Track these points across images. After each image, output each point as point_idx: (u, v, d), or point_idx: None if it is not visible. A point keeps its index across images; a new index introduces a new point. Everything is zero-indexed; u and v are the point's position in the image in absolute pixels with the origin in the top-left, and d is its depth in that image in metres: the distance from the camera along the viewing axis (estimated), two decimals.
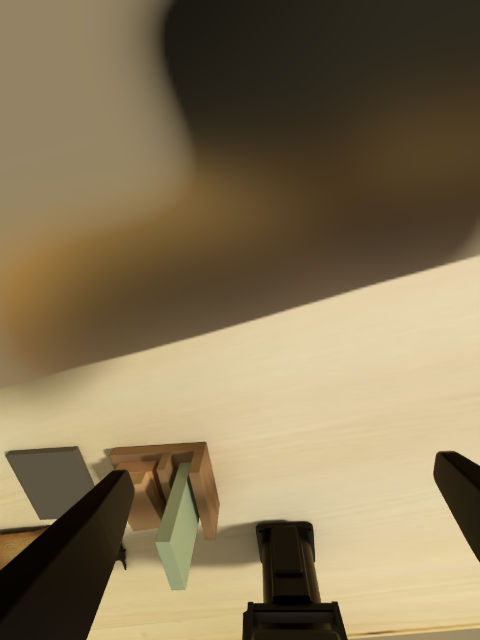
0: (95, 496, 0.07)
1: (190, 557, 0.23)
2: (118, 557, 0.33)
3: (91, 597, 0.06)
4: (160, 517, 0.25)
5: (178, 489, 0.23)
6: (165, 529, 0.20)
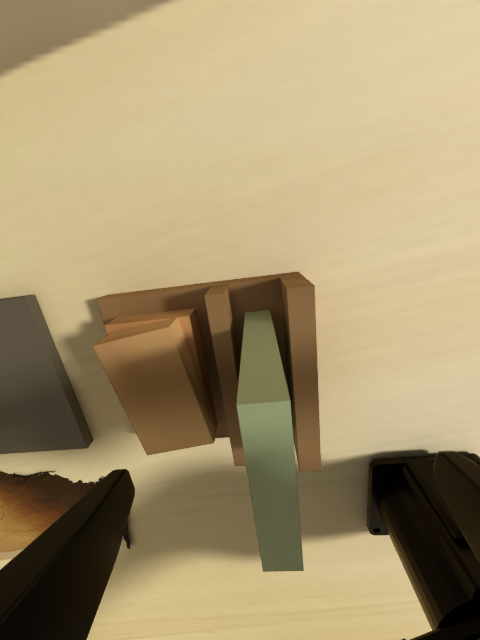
0: (95, 496, 0.07)
1: None
2: None
3: (91, 597, 0.06)
4: (206, 421, 0.12)
5: (260, 333, 0.10)
6: (258, 381, 0.06)
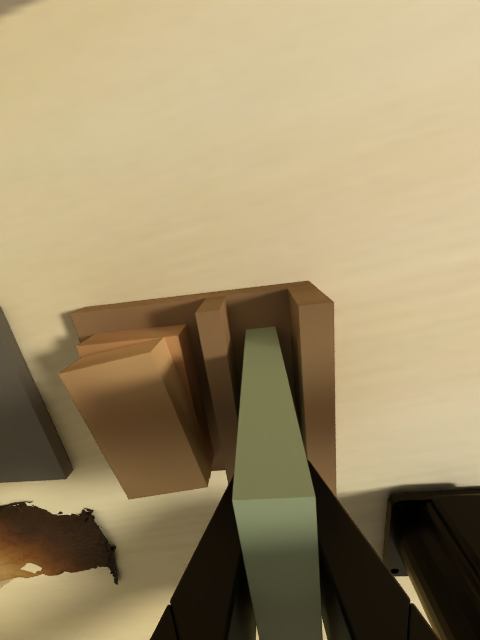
0: None
1: None
2: (102, 561, 0.17)
3: None
4: (199, 461, 0.10)
5: (264, 361, 0.08)
6: (265, 449, 0.04)
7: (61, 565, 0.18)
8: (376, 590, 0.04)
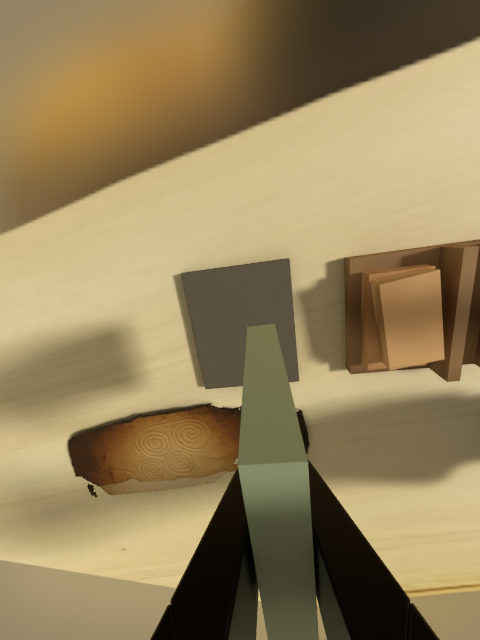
0: (240, 489, 0.06)
1: None
2: None
3: (254, 596, 0.06)
4: (442, 342, 0.16)
5: (265, 354, 0.08)
6: (265, 427, 0.05)
7: None
8: (376, 590, 0.04)
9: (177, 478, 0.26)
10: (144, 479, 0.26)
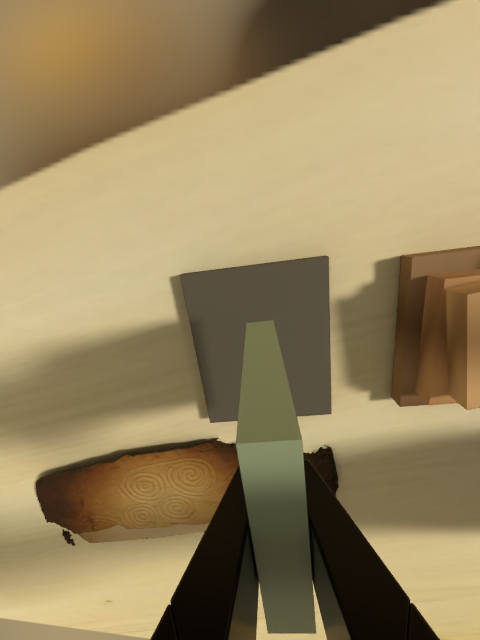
0: (240, 489, 0.06)
1: None
2: None
3: (255, 596, 0.06)
4: None
5: (263, 347, 0.08)
6: (262, 411, 0.05)
7: None
8: (376, 590, 0.04)
9: (173, 524, 0.21)
10: (132, 526, 0.21)
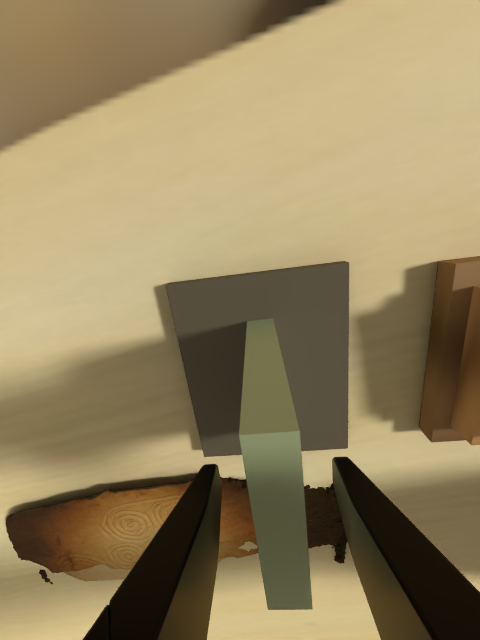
0: (198, 491, 0.06)
1: None
2: (332, 538, 0.17)
3: (207, 596, 0.06)
4: None
5: (263, 345, 0.09)
6: (263, 405, 0.06)
7: None
8: (448, 590, 0.04)
9: None
10: (116, 566, 0.19)
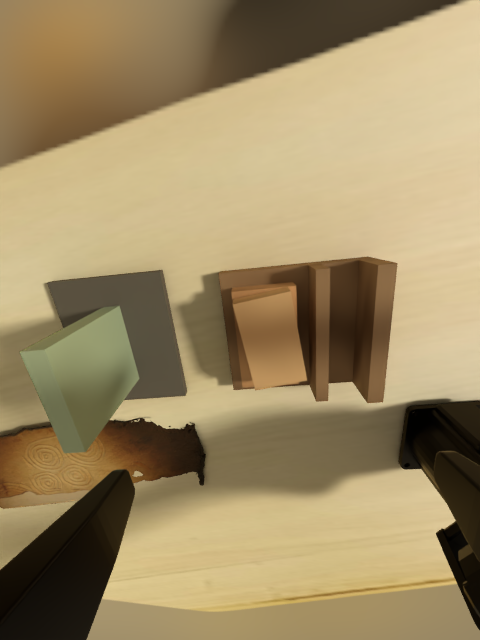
0: (95, 496, 0.07)
1: (104, 419, 0.15)
2: (194, 466, 0.24)
3: (91, 597, 0.06)
4: (303, 363, 0.16)
5: (88, 319, 0.15)
6: (44, 342, 0.12)
7: (161, 471, 0.24)
8: None
9: (76, 490, 0.25)
10: (40, 492, 0.25)
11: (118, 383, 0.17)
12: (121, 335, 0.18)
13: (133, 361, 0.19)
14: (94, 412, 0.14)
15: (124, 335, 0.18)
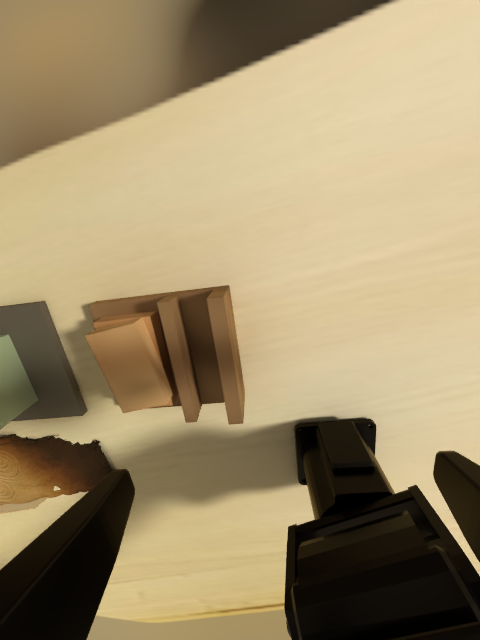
0: (95, 496, 0.07)
1: None
2: None
3: (91, 597, 0.06)
4: (162, 388, 0.17)
5: None
6: None
7: (77, 486, 0.25)
8: None
9: (2, 504, 0.26)
10: None
11: (1, 407, 0.18)
12: (10, 361, 0.19)
13: (29, 384, 0.21)
14: None
15: (15, 361, 0.20)
